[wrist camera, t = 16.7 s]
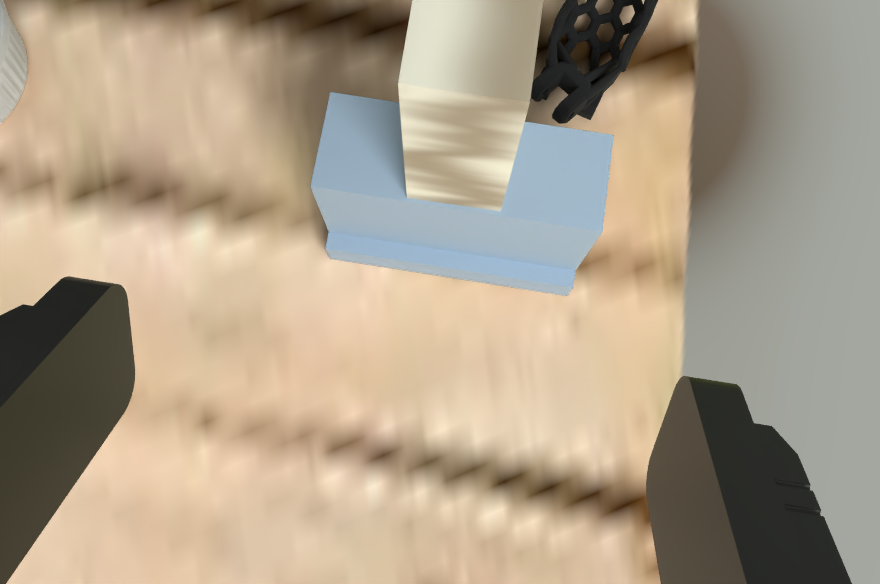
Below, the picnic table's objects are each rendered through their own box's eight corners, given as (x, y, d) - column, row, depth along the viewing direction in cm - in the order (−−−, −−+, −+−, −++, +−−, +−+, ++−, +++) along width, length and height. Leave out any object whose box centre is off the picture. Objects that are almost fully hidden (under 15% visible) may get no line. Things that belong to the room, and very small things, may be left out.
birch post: (406, 197, 37) (397, 83, 26) (421, 111, 38) (418, -32, 27) (500, 211, 37) (529, 102, 26) (512, 124, 38) (545, -15, 27)
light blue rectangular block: (329, 258, 46) (306, 206, 37) (351, 148, 47) (334, 73, 39) (566, 295, 45) (600, 252, 37) (580, 184, 47) (615, 116, 38)
